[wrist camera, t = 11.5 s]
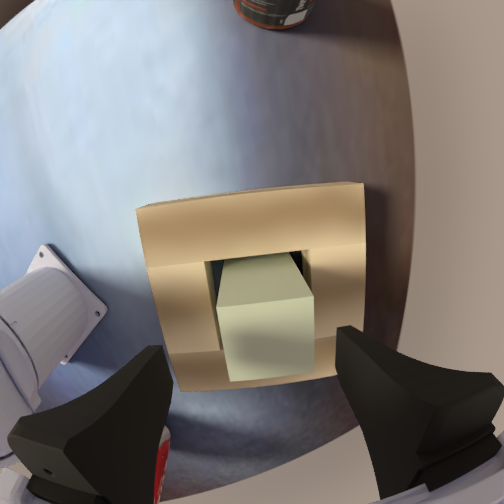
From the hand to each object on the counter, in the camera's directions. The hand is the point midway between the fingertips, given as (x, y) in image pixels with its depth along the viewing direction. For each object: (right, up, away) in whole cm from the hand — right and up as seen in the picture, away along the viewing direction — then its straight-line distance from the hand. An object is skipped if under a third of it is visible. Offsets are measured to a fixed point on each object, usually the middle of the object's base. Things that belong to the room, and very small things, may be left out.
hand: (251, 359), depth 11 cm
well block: (+1, +2, +10) cm, 10 cm away
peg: (+1, +2, +10) cm, 10 cm away
